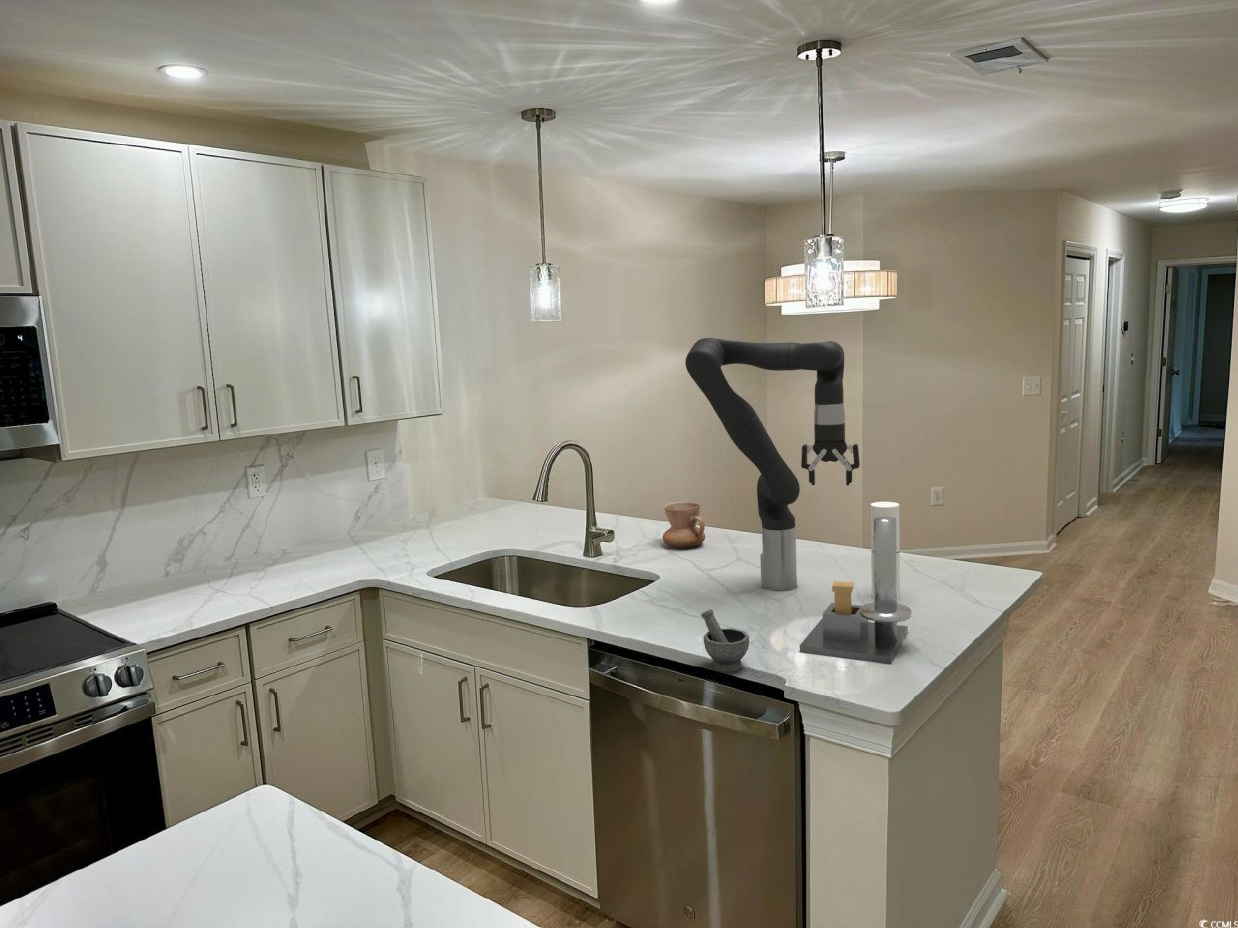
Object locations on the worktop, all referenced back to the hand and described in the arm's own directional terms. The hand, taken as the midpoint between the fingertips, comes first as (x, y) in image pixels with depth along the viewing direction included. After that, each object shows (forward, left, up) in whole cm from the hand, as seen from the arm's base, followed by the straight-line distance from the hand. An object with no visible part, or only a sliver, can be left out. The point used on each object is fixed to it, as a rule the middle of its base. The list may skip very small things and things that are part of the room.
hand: (830, 484), depth 217 cm
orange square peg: (+8, -22, -31) cm, 39 cm away
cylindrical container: (+11, +12, -32) cm, 36 cm away
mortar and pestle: (-12, -46, -32) cm, 57 cm away
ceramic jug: (-62, +45, -32) cm, 83 cm away
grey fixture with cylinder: (+12, -23, -32) cm, 41 cm away
